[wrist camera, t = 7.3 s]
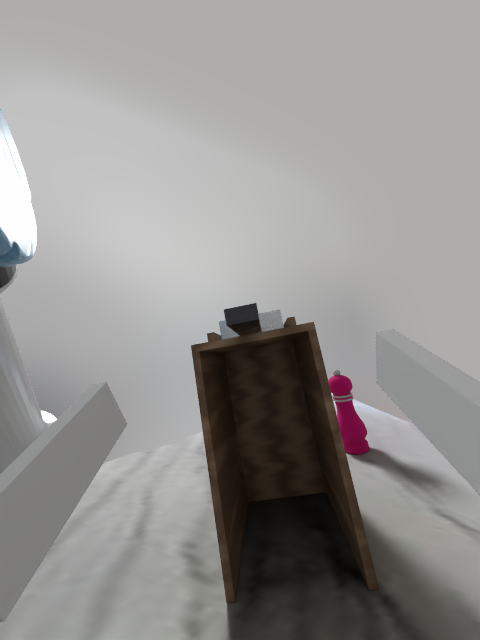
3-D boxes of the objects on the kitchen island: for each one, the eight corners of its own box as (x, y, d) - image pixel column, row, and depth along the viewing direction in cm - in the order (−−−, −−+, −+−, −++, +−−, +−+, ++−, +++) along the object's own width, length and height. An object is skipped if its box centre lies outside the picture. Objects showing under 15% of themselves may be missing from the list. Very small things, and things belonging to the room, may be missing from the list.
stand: (226, 602, 26) (189, 334, 31) (244, 496, 45) (219, 343, 51) (378, 589, 24) (311, 311, 30) (328, 485, 44) (293, 329, 50)
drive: (189, 332, 21) (183, 288, 21) (234, 346, 49) (231, 327, 50) (298, 311, 20) (287, 266, 20) (279, 338, 49) (275, 319, 49)
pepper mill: (378, 451, 53) (355, 367, 57) (349, 457, 53) (328, 372, 56) (360, 441, 61) (341, 366, 64) (335, 446, 60) (317, 371, 64)
